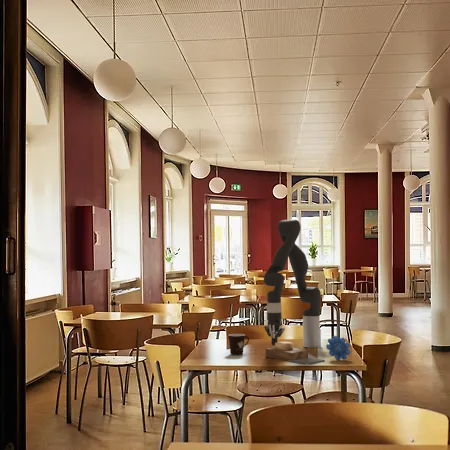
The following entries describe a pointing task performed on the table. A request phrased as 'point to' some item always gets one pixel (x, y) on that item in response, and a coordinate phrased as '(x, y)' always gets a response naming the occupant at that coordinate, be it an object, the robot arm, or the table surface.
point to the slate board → (307, 360)
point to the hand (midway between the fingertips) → (274, 345)
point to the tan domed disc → (283, 346)
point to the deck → (286, 354)
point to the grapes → (338, 347)
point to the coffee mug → (237, 343)
